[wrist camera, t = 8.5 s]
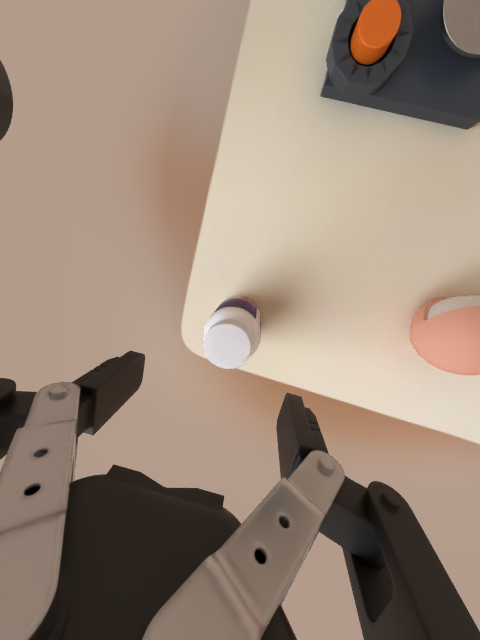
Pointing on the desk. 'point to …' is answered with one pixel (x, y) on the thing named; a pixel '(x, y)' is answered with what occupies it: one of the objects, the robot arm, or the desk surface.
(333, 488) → the robot arm
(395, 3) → the button
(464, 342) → the toy ball
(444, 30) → the weighing pan
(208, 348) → the pill bottle
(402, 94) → the scale
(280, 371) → the desk surface
